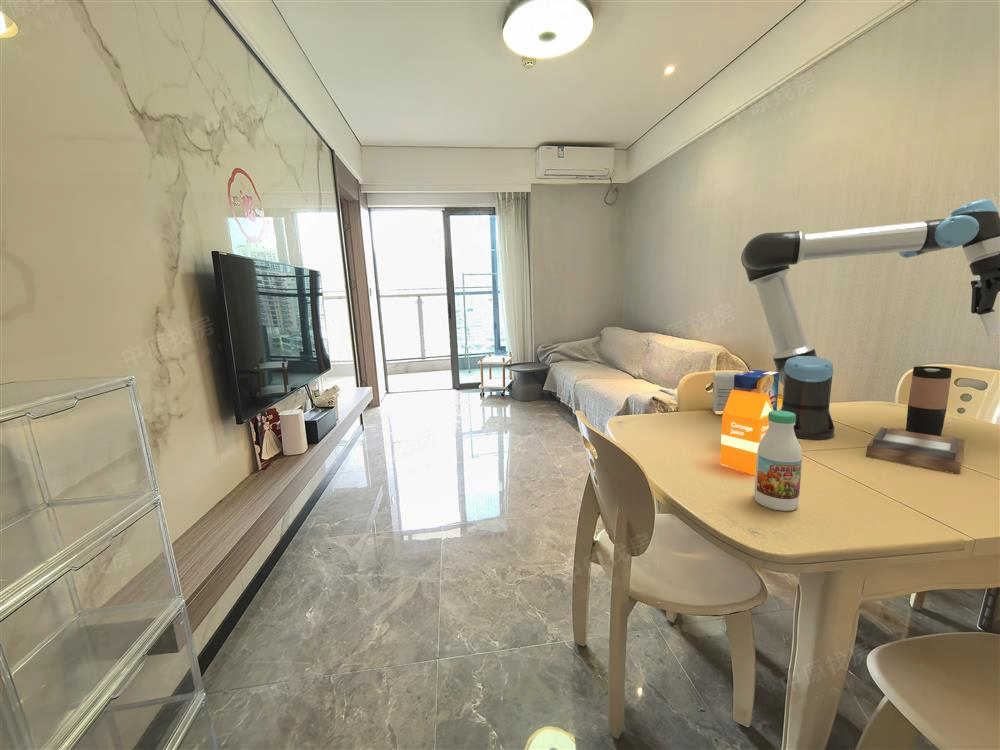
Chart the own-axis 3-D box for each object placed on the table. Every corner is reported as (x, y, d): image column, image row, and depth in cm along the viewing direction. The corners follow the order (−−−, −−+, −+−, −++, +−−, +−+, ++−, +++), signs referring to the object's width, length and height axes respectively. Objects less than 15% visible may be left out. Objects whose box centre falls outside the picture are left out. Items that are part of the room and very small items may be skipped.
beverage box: (774, 446, 112) (779, 372, 109) (756, 455, 107) (761, 377, 103) (749, 440, 118) (753, 369, 114) (730, 448, 112) (734, 374, 108)
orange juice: (755, 476, 95) (760, 397, 91) (719, 465, 102) (723, 391, 99) (771, 467, 99) (776, 392, 95) (735, 457, 106) (739, 387, 103)
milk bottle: (745, 495, 86) (750, 409, 82) (778, 492, 86) (784, 406, 83) (772, 513, 78) (779, 419, 75) (808, 510, 79) (816, 416, 75)
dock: (865, 456, 102) (868, 438, 101) (880, 434, 116) (882, 418, 115) (959, 474, 90) (962, 453, 89) (963, 447, 104) (966, 429, 103)
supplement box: (711, 408, 153) (713, 371, 150) (738, 410, 149) (740, 372, 146) (714, 415, 144) (715, 376, 142) (742, 416, 141) (744, 376, 138)
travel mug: (924, 429, 118) (933, 365, 115) (950, 438, 111) (961, 369, 107) (897, 430, 119) (905, 366, 116) (921, 438, 112) (930, 370, 108)
